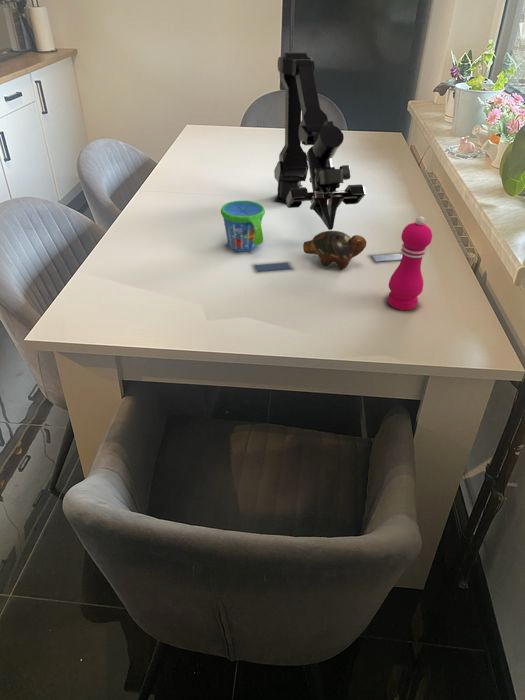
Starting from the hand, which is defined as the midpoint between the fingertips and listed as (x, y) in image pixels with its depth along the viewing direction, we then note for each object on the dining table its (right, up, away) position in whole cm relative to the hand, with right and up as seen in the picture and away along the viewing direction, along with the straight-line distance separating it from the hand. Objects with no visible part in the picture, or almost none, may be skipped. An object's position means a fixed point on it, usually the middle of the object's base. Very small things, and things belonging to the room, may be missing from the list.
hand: (330, 229), depth 131 cm
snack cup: (-22, -3, +7) cm, 23 cm away
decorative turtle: (+1, -8, +2) cm, 8 cm away
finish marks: (+1, -8, +2) cm, 8 cm away
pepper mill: (+14, -19, -12) cm, 27 cm away
